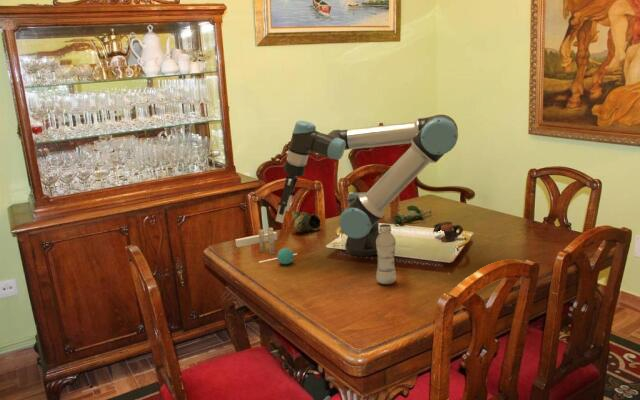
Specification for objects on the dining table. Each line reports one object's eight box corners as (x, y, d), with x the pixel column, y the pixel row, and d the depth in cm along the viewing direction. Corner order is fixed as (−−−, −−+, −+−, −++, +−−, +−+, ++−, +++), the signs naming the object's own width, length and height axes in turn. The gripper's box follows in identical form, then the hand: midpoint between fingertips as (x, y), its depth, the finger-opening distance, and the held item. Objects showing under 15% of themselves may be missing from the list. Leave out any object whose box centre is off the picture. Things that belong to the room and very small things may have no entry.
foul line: (296, 253, 220) (296, 253, 220) (297, 254, 219) (297, 254, 219) (258, 262, 213) (258, 261, 213) (259, 263, 212) (259, 262, 212)
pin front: (275, 253, 222) (273, 231, 220) (272, 254, 221) (270, 232, 219) (271, 252, 224) (270, 230, 221) (268, 253, 222) (266, 232, 220)
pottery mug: (434, 244, 225) (430, 224, 227) (438, 247, 233) (434, 228, 236) (464, 237, 221) (459, 217, 223) (467, 240, 230) (462, 221, 232)
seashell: (316, 236, 241) (315, 214, 238) (291, 236, 243) (289, 214, 241) (321, 229, 251) (320, 207, 249) (297, 229, 253) (295, 207, 251)
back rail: (275, 238, 241) (275, 231, 241) (277, 239, 240) (276, 232, 239) (235, 246, 234) (235, 239, 233) (237, 247, 232) (236, 240, 231)
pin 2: (275, 249, 227) (274, 227, 225) (272, 250, 226) (270, 229, 224) (271, 248, 228) (270, 227, 226) (268, 249, 227) (267, 228, 225)
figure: (412, 213, 271) (380, 226, 254) (411, 199, 270) (378, 210, 253) (441, 216, 260) (409, 229, 243) (440, 201, 258) (408, 213, 241)
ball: (297, 262, 211) (296, 247, 209) (287, 267, 206) (286, 252, 204) (285, 260, 214) (283, 245, 213) (274, 264, 209) (273, 249, 208)
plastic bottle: (374, 280, 190) (372, 223, 185) (394, 278, 190) (393, 222, 186) (378, 287, 184) (376, 229, 179) (398, 285, 184) (397, 227, 179)
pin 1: (266, 251, 225) (264, 229, 223) (263, 252, 224) (261, 231, 222) (262, 250, 227) (261, 229, 224) (259, 251, 225) (257, 230, 223)
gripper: (291, 153, 216) (278, 203, 223) (280, 168, 192) (266, 223, 199) (309, 158, 216) (296, 208, 222) (301, 174, 192) (286, 229, 199)
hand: (282, 216), depth 211 cm, fingers open, 13 cm apart
